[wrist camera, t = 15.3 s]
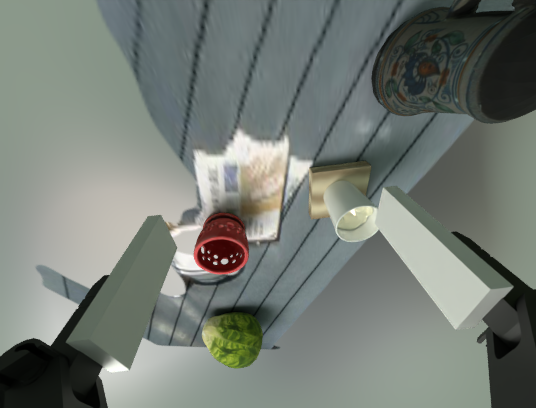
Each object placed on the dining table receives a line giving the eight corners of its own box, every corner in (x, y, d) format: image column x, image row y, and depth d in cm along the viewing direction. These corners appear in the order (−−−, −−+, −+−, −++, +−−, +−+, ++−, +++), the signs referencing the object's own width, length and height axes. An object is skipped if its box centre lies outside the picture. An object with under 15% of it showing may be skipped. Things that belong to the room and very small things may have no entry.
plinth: (309, 167, 52) (312, 173, 49) (365, 160, 52) (371, 165, 49) (308, 212, 59) (311, 219, 57) (357, 206, 59) (362, 213, 57)
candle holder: (366, 182, 51) (393, 210, 42) (346, 213, 57) (367, 245, 47) (330, 173, 49) (350, 201, 40) (313, 206, 55) (327, 238, 45)
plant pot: (240, 246, 65) (238, 279, 55) (197, 236, 62) (188, 269, 52) (255, 214, 59) (256, 245, 49) (208, 201, 55) (199, 232, 45)
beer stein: (388, 128, 47) (494, 180, 27) (346, 49, 38) (456, 36, 18) (466, 70, 42) (673, 80, 21) (437, -38, 33) (748, -201, 12)
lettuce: (215, 295, 79) (195, 351, 66) (272, 313, 82) (264, 370, 69) (208, 311, 92) (190, 361, 78) (257, 326, 95) (248, 377, 81)
